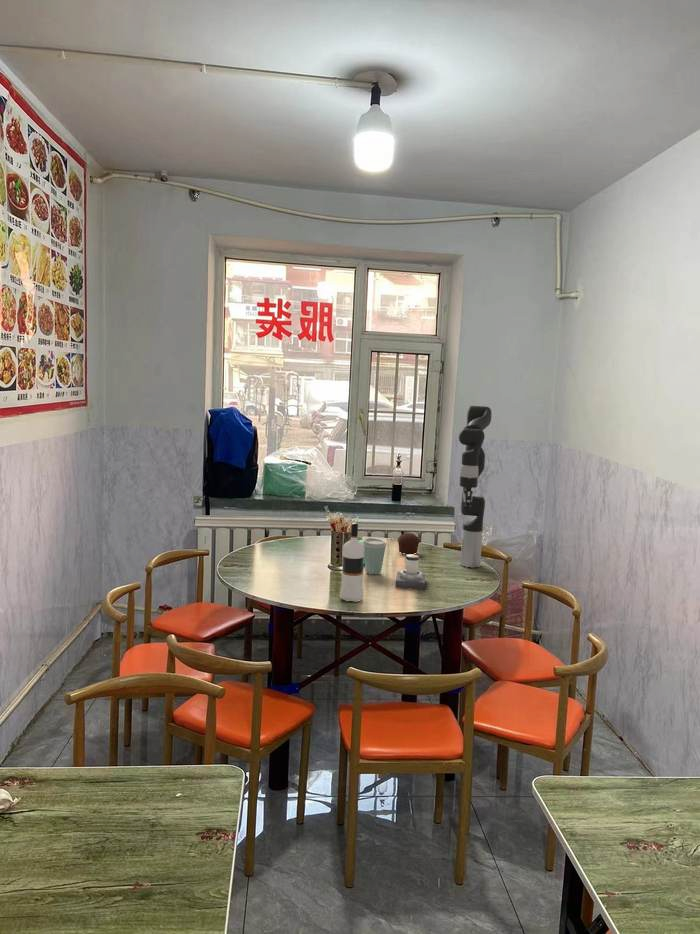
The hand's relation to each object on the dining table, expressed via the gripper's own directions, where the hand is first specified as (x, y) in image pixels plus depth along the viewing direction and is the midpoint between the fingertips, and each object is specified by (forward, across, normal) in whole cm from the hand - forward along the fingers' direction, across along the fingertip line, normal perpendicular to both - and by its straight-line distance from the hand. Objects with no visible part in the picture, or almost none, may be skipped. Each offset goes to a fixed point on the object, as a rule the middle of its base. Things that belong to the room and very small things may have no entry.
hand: (466, 513), depth 292 cm
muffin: (+30, -44, -25) cm, 59 cm away
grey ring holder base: (+30, +10, -22) cm, 39 cm away
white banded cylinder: (+27, +10, -22) cm, 36 cm away
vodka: (+30, +37, -44) cm, 65 cm away
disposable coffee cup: (+30, -2, -39) cm, 49 cm away
